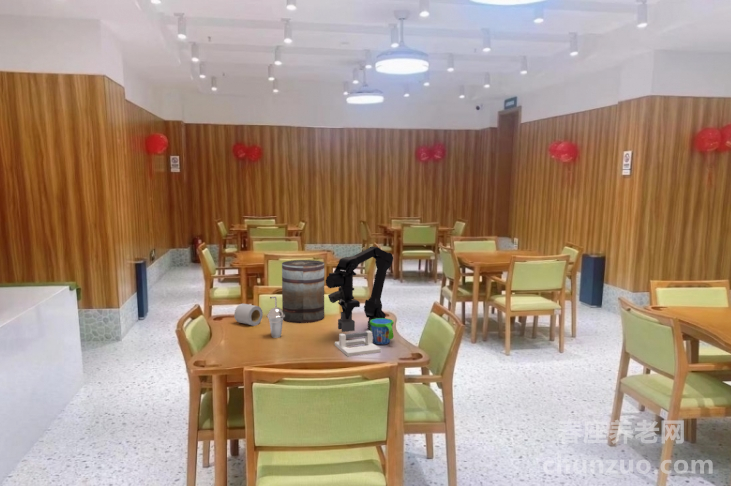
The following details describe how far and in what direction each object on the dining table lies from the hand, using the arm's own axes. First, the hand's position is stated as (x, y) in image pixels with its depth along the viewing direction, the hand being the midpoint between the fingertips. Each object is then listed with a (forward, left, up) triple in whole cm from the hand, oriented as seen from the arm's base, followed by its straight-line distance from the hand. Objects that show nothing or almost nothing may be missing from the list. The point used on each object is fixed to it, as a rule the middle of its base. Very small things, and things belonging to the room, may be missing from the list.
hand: (346, 318), depth 230 cm
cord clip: (0, 0, -5) cm, 5 cm away
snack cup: (-13, +12, -10) cm, 20 cm away
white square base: (+1, +16, -10) cm, 18 cm away
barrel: (+8, -44, -10) cm, 46 cm away
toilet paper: (+38, -42, -10) cm, 57 cm away
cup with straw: (+30, -15, -10) cm, 35 cm away
